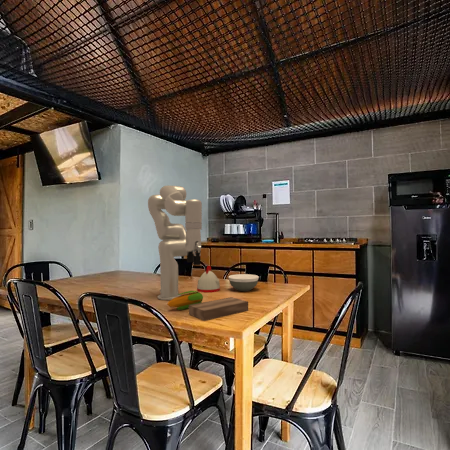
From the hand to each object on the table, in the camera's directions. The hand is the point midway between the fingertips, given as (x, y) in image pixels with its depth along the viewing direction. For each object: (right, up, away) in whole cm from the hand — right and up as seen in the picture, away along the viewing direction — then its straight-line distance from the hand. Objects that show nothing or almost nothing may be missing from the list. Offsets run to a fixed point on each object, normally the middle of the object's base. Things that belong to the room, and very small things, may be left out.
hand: (193, 263), depth 139 cm
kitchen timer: (+4, -22, +44) cm, 50 cm away
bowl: (+26, -22, +45) cm, 56 cm away
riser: (+12, -21, -6) cm, 25 cm away
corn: (-4, -22, +3) cm, 22 cm away
